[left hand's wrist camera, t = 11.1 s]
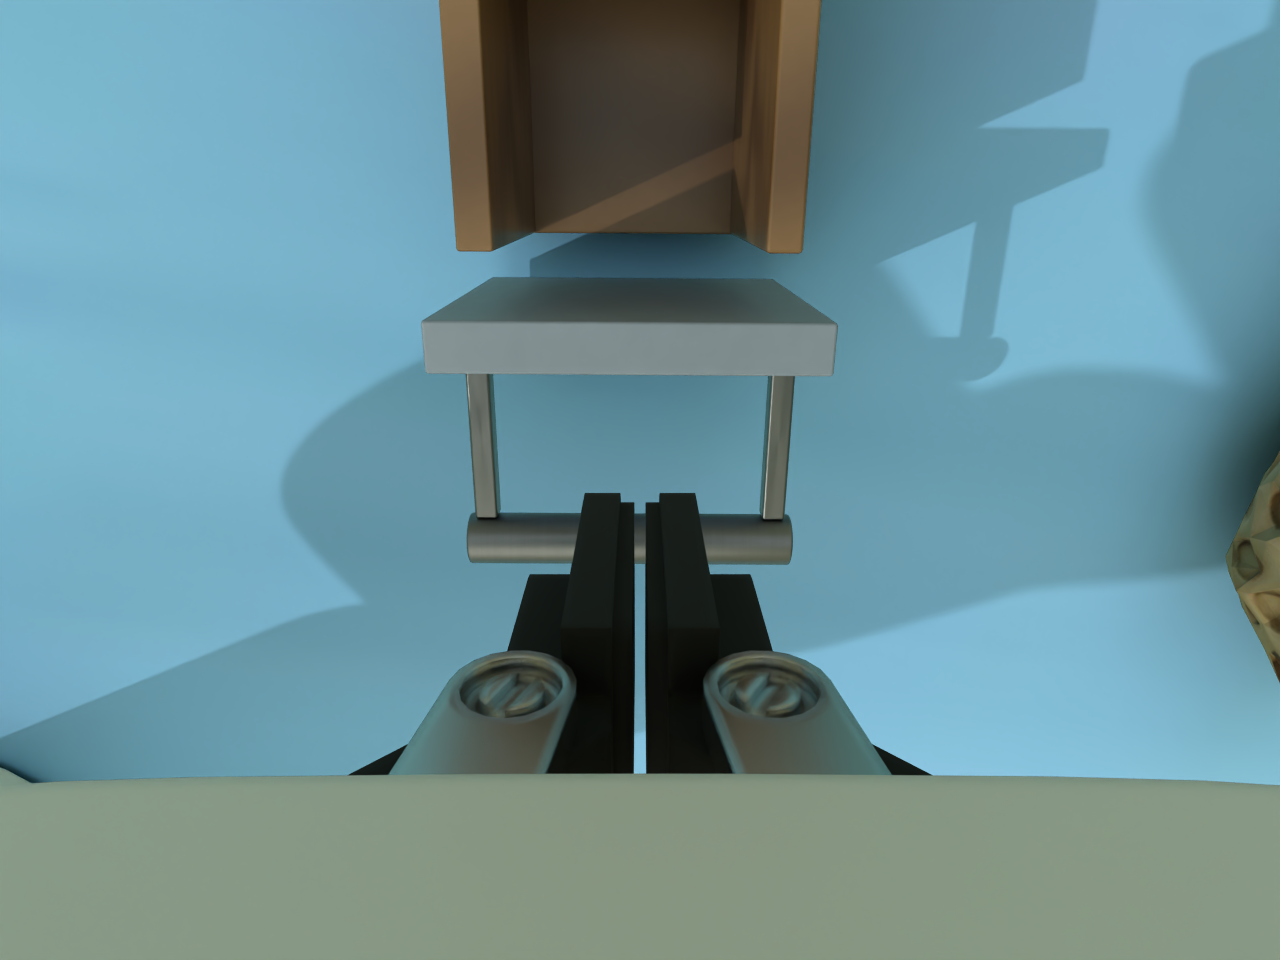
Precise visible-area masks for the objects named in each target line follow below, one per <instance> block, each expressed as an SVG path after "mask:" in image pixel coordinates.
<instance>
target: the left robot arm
mask: <svg viewBox="0 0 1280 960" xmlns="http://www.w3.org/2000/svg"><path fill="white" fill-rule="evenodd" d="M634 697H635V563H634V502H621V496H620V493H585V495H584V500H583V506H582V511H581V517H580V522H579V528H578V533H577V539H576V544H575V550H574V555H573V561H572V566H571V572H570V574H530V575H529V578H528V581H527V584H526V588H525V591H524V594H523V598H522V601H521V605H520V608H519V612H518V615H517V619H516V622H515V626H514V629H513V633H512V636H511V640H510V643H509V647H508V650H507V651H506V652H501V653H495V654H490V655H488V656H485V657H482V658H479V659H477V660H474V661H472V662H471V663H469V664H467V665H466V666H464V667H462V668H461V669H459V670H458V671H457V673H456V674H455V675H454V676H453V677H452V678H451V679H450V680H449V682H448V683H447V685H446V686H445V688H444V689H443V691H442V692H441V694H440V695H439V697H438V699H437V700H436V702H435V703H434V705H433V706H432V708H431V709H430V711H429V713H428V714H427V716H426V717H425V719H424V720H423V722H422V723H421V725H420V726H419V728H418V730H417V731H416V733H415V734H414V736H413V737H412V739H411V740H410V742H409V743H408V744H407V745H405V746H403V747H401V748H400V749H398V750H396V751H394V752H392V753H390V754H388V755H386V756H384V757H382V758H380V759H378V760H376V761H374V762H372V763H370V764H369V765H367V766H365V767H363V768H361V769H359V770H357V771H355V772H353V773H351V774H349V775H347V776H257V777H184V778H152V779H121V780H89V781H59V782H45V783H30V782H28V781H27V780H25V779H23V778H21V777H19V776H17V775H15V774H14V773H12V772H10V771H8V770H6V769H3V768H0V960H1280V785H1264V784H1249V783H1233V782H1217V781H1197V780H1160V779H1124V778H1088V777H1044V776H933V775H931V774H929V773H927V772H925V771H923V770H921V769H919V768H917V767H915V766H913V765H912V764H910V763H908V762H906V761H904V760H902V759H900V758H898V757H896V756H894V755H892V754H890V753H888V752H886V751H884V750H882V749H880V748H879V747H877V746H875V745H873V744H872V743H871V742H870V740H869V739H868V737H867V736H866V734H865V733H864V731H863V730H862V728H861V726H860V725H859V723H858V722H857V720H856V719H855V717H854V716H853V714H852V712H851V711H850V709H849V708H848V706H847V705H846V703H845V702H844V700H843V699H842V697H841V695H840V694H839V692H838V691H837V689H836V688H835V686H834V685H833V683H832V682H831V680H830V679H829V678H828V677H827V676H826V675H825V674H824V673H823V671H822V670H821V669H819V668H818V667H816V666H814V665H813V664H811V663H809V662H808V661H806V660H803V659H801V658H798V657H795V656H792V655H790V654H785V653H779V652H774V651H773V650H772V647H771V643H770V640H769V636H768V633H767V629H766V626H765V622H764V619H763V615H762V612H761V608H760V605H759V601H758V598H757V594H756V591H755V588H754V584H753V581H752V578H751V575H750V574H710V572H709V566H708V561H707V555H706V550H705V544H704V539H703V533H702V528H701V522H700V517H699V511H698V506H697V500H696V495H695V493H660V496H659V502H646V563H645V697H646V774H634Z"/></svg>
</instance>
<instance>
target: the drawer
mask: <svg viewBox="0 0 1280 960" xmlns="http://www.w3.org/2000/svg"><path fill="white" fill-rule="evenodd" d="M821 2H822V0H439V8H440V22H441V36H442V50H443V65H444V79H445V93H446V107H447V121H448V135H449V150H450V164H451V178H452V192H453V206H454V221H455V235H456V249H457V250H458V251H493V250H496V249H498V248H500V247H502V246H505V245H507V244H509V243H512V242H514V241H516V240H519V239H521V238H523V237H525V236H528V235H530V234H532V233H645V234H733V235H735V236H737V237H739V238H740V239H742V240H744V241H746V242H748V243H750V244H752V245H754V246H756V247H758V248H760V249H762V250H764V251H766V252H768V253H795V254H799V253H801V252H802V250H803V242H804V228H805V215H806V202H807V188H808V175H809V162H810V149H811V135H812V122H813V109H814V95H815V82H816V69H817V55H818V42H819V29H820V15H821ZM421 328H422V339H423V350H424V362H425V371H426V373H429V374H466V385H467V399H468V413H469V428H470V442H471V456H472V470H473V484H474V499H475V513H472V514H471V515H470V518H469V522H468V528H467V552H468V557H469V560H470V562H472V563H572V561H573V555H574V550H575V544H576V539H577V533H578V528H579V522H580V517H581V513H499V512H500V510H501V505H500V488H499V470H498V453H497V436H496V419H495V402H494V385H493V374H569V375H721V376H768V387H767V402H766V418H765V434H764V449H763V465H762V480H761V496H760V513H761V514H699V517H700V522H701V528H702V533H703V539H704V544H705V550H706V555H707V561H708V564H751V565H787V564H789V563H790V560H791V556H792V547H793V534H792V525H791V520H790V517H789V516H788V515H786V514H785V500H786V487H787V474H788V461H789V448H790V434H791V421H792V408H793V395H794V382H795V376H831V375H833V372H834V361H835V351H836V340H837V329H838V326H837V323H835V322H834V321H832V320H831V319H829V318H828V317H827V316H825V315H824V314H822V313H821V312H819V311H818V310H816V309H815V308H814V307H812V306H811V305H809V304H808V303H806V302H805V301H803V300H802V299H801V298H799V297H798V296H796V295H795V294H793V293H792V292H790V291H789V290H788V289H786V288H785V287H783V286H782V285H780V284H779V283H777V282H776V281H775V280H773V279H679V278H535V277H493V278H491V279H489V280H488V281H486V282H484V283H483V284H481V285H479V286H478V287H476V288H475V289H473V290H471V291H470V292H468V293H466V294H465V295H463V296H462V297H460V298H458V299H457V300H455V301H453V302H452V303H450V304H449V305H447V306H445V307H444V308H442V309H440V310H439V311H437V312H436V313H434V314H432V315H431V316H429V317H427V318H426V319H424V320H423V321H422V322H421ZM634 563H635V564H645V563H646V514H634Z"/></svg>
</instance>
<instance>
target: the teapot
mask: <svg viewBox="0 0 1280 960" xmlns="http://www.w3.org/2000/svg"><path fill="white" fill-rule="evenodd" d="M1226 561H1227V566H1228V571H1229V574H1230V576H1231V579H1232V581H1233V584H1234V587H1235V589H1236V591H1237V593H1238V594H1239V598H1240V601H1241V604H1242V607H1243V609H1244V611H1245V613H1246V615H1247V617H1248V619H1249V621H1250V623H1251V624H1252V626H1253V628H1254V630H1255V632H1256V634H1257V636H1258V638H1259V640H1260V642H1261V643H1262V645H1263V647H1264V649H1265V651H1266V654H1267V656H1268V658H1269V660H1270V662H1271V664H1272V667H1273V669H1274V671H1275V673H1276V675H1277V678H1278V680H1279V682H1280V451H1279V453H1278V455H1277V457H1276V459H1275V461H1274V462H1273V464H1272V465H1271V466H1270V467H1269V468H1268V470H1267V471H1266V472H1265V474H1264V476H1263V478H1262V480H1261V482H1260V484H1259V487H1258V489H1257V492H1256V494H1255V496H1254V498H1253V500H1252V502H1251V504H1250V506H1249V508H1248V510H1247V512H1246V514H1245V516H1244V518H1243V520H1242V523H1241V525H1240V527H1239V529H1238V531H1237V533H1236V535H1235V538H1234V540H1233V542H1232V544H1231V546H1230V548H1229V550H1228V552H1227V554H1226Z"/></svg>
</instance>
